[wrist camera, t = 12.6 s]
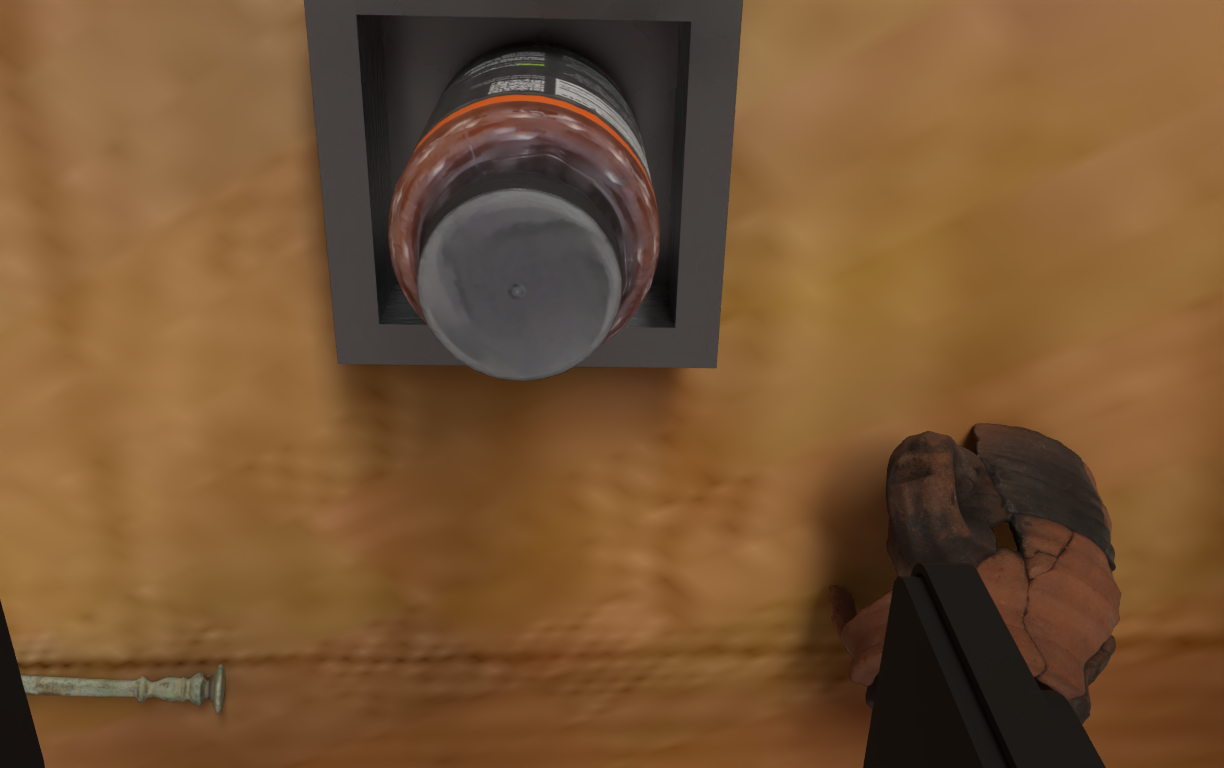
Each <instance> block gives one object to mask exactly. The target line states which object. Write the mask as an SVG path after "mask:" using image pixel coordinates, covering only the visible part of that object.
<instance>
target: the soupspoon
mask: <svg viewBox="0 0 1224 768" xmlns="http://www.w3.org/2000/svg"><path fill="white" fill-rule="evenodd" d="M21 678H22V682H23V686H24V690H25V693H26V695H58V696H93V697H124V696H127V697H136V698H137V701H138V702H145V701H146V699H147V698H151V697H156V698H160V699H162V700H165V701H171V702H174V701H180V702H185V701H187V700H190V701H191V702H192V703H193V704H195V705H201V704H202V703H203V702H204V701H205V700H206V699H208V698H209V699H211V701H212V702H213V705H214V708H215V710H216V712H217V713H221V711H222V706H223V699H224V693H225V670H224V666H223V665H219V666H218V668H217V670H216V671H215V673H214V674H213V675H212V676H211V677H210V678H206V677H205V675H204V674H203V673H197V674H195V675H193V676H192V677H191V678H187V677H186V676H184V677H183V678H177V677H167V678H163V679H161V680H159V681H155V682H151V681H148V680H147V679H146V677H140V678H139V679H138V680H114V679H93V678H70V677H51V676H33V675H21Z"/></svg>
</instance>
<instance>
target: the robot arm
mask: <svg viewBox="0 0 1224 768" xmlns="http://www.w3.org/2000/svg"><path fill="white" fill-rule="evenodd" d="M0 768H45V765H44V760H43V756H42V752H41V749H40V745H39V741H38V738H37V734H36V730H35V726H34V723H33V719H32V715H31V712H30V708H29V704H28V701H27V697H26V693H25V690H24V686H23V682H22V678H21V675H20V671H19V667H18V664H17V660H16V656H15V653H14V649H13V645H12V642H11V638H10V634H9V631H8V627H7V623H6V619H5V616H4V612H3V608H2V605H1V601H0ZM863 768H1106V767H1105V766H1104V764H1103V762H1102V760H1101V758H1100V757H1099V755H1098V753H1097V751H1096V749H1095V748H1094V746H1093V744H1092V742H1091V740H1090V739H1089V737H1088V735H1087V733H1086V731H1085V730H1084V728H1083V726H1082V724H1081V722H1080V721H1079V719H1078V717H1077V715H1076V713H1075V712H1074V710H1073V708H1072V706H1071V705H1070V704H1069V702H1068V701H1067V700H1066V698H1065V697H1064V695H1062V694H1060V693H1059V692H1057V691H1055V690H1040V688H1039V686H1038V684H1037V682H1036V680H1035V679H1034V677H1033V675H1032V673H1031V671H1030V669H1029V667H1028V665H1027V663H1026V662H1025V660H1024V658H1023V656H1022V654H1021V652H1020V650H1019V648H1018V646H1017V645H1016V643H1015V641H1014V639H1013V637H1012V635H1011V633H1010V631H1009V629H1008V628H1007V626H1006V624H1005V622H1004V620H1003V618H1002V616H1001V614H1000V613H999V611H998V609H997V607H996V605H995V603H994V601H993V599H992V597H991V596H990V594H989V592H988V590H987V588H986V586H985V584H984V582H983V580H982V579H981V577H980V575H979V573H978V571H977V570H976V568H975V567H974V566H973V565H972V564H970V563H917V564H916V565H915V566H914V568H913V570H912V572H911V576H910V577H909V576H899V577H897V578H896V580H895V582H894V586H893V591H892V597H891V603H890V609H889V615H888V621H887V627H886V633H885V639H884V645H883V651H882V657H881V663H880V669H879V675H878V681H877V687H876V693H875V699H874V705H873V711H872V717H871V723H870V729H869V735H868V741H867V747H866V753H865V759H864V767H863Z"/></svg>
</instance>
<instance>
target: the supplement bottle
mask: <svg viewBox="0 0 1224 768" xmlns="http://www.w3.org/2000/svg"><path fill="white" fill-rule="evenodd" d="M388 240H389V249H390V256H391V262H392V265H393V269H394V272H395V274H396V277H397V280H398V282H399V284H400V287H401V289H402V291H403V294H404V296H405V297H406V298H407V300H408V302H409V304H410V305H411V306H412V307H413V309H414V311H415V312H416V313H417V314H418V315H419V317H420V318H421V319H422V320H423V321H424V322H425V323H426V324H427V325H428V327H429V328H430V330H431V332H432V333H433V335H434V336H435V338H436V339H437V340H438V342H439V343H440V344H441V345H442V346H443V347H444V348H445V350H446V351H448V352H449V353H450V354H451V355H452V356H453V357H454V358H456V359H457V360H459V361H460V362H462V363H463V364H465V365H466V366H468V367H470V368H472V369H473V370H475V371H479V372H481V373H483V374H486V375H488V376H491V377H494V378H499V379H505V380H518V381H528V380H538V379H543V378H548V377H551V376H554V375H557V374H561V373H563V372H565V371H567V370H569V369H571V368H573V367H575V366H576V365H578V364H579V363H581V362H582V361H584V360H585V359H586V358H587V357H589V356H590V355H591V354H592V353H594V352H595V351H596V350H597V349H598V347H599V346H600V345H602V344H603V343H605V342H606V341H608V340H609V339H611V338H612V337H613V336H614V335H616V334H617V333H618V332H619V331H620V330H621V329H622V328H623V327H625V326H626V325H627V323H628V322H629V321H630V319H631V318H632V317H633V316H634V315H635V314H636V312H637V311H638V309H639V307H640V306H641V304H642V303H643V302H644V300H645V297H646V295H647V293H648V291H649V289H650V286H651V284H652V281H653V277H654V273H655V270H656V267H657V261H658V257H659V245H660V224H659V216H658V210H657V205H656V199H655V194H654V190H653V186H652V182H651V178H650V173H649V169H648V165H647V161H646V157H645V152H644V148H643V143H642V139H641V135H640V132H639V127H638V123H637V120H636V117H635V114H634V111H633V109H632V107H631V105H630V103H629V101H628V99H627V97H626V95H625V94H624V92H623V91H622V90H621V88H620V87H619V86H618V84H617V83H616V81H615V80H614V79H613V78H612V77H611V76H610V75H609V73H608V72H607V71H605V70H604V69H603V68H602V67H601V66H599V65H598V64H597V63H595V62H594V61H592V60H591V59H589V58H588V57H586V56H584V55H582V54H581V53H579V52H576V51H574V50H572V49H569V48H567V47H565V46H560V45H554V44H549V43H542V42H528V43H527V42H521V43H514V44H509V45H506V46H503V47H500V48H496V49H493V50H490V51H489V52H487V53H485V54H482V55H481V56H479V57H477V58H475V59H474V60H472V61H471V62H470V63H469V64H467V65H466V66H465V67H464V68H463V69H462V70H461V71H460V72H459V73H458V74H457V75H456V76H455V77H454V78H453V79H452V80H451V81H450V83H449V84H448V85H447V87H446V89H445V90H444V92H443V94H442V95H441V97H440V99H439V101H438V103H437V105H436V107H435V109H434V111H433V113H432V114H431V116H430V118H429V120H428V123H427V124H426V126H425V128H424V130H423V132H422V134H421V136H420V138H419V140H418V143H417V144H416V146H415V148H414V150H413V153H412V154H411V156H410V159H409V161H408V163H407V164H406V166H405V169H404V171H403V173H402V174H401V177H400V179H399V181H398V183H397V186H396V189H395V192H394V195H393V198H392V202H391V207H390V213H389V224H388Z"/></svg>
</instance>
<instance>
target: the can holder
mask: <svg viewBox="0 0 1224 768" xmlns="http://www.w3.org/2000/svg"><path fill="white" fill-rule="evenodd" d="M304 6H305V17H306V27H307V38H308V49H309V59H310V70H311V81H312V91H313V102H314V113H315V123H316V134H317V145H318V155H319V166H320V177H321V187H322V198H323V209H324V220H325V230H326V241H327V252H328V262H329V273H330V284H331V294H332V305H333V316H334V326H335V337H336V348H337V358H338V364H378V365H465V364H463V363H462V362H460V361H459V360H457V359H456V358H454V357H453V356H452V355H451V354H450V353H449V352H448V351H446V350H445V348H444V347H443V346H442V345H441V344H440V343H439V342H438V340H437V339H436V338H435V336H434V335H433V333H432V332H431V330H430V328H429V327H428V325H427V324H426V323H425V322H424V321H423V320H422V319H421V318H420V317H419V315H418V314H417V313H416V312H415V311H414V309H413V307H412V306H411V305H410V304H409V302H408V300H407V298H406V297H405V296H404V294H403V291H402V289H401V287H400V284H399V282H398V280H397V277H396V274H395V272H394V269H393V265H392V262H391V256H390V249H389V240H388V224H389V213H390V207H391V202H392V198H393V195H394V192H395V189H396V186H397V183H398V181H399V179H400V177H401V174H402V173H403V171H404V169H405V166H406V164H407V163H408V161H409V159H410V156H411V154H412V153H413V150H414V148H415V146H416V144H417V143H418V140H419V138H420V136H421V134H422V132H423V130H424V128H425V126H426V124H427V123H428V120H429V118H430V116H431V114H432V113H433V111H434V109H435V107H436V105H437V103H438V101H439V99H440V97H441V95H442V94H443V92H444V90H445V89H446V87H447V85H448V84H449V83H450V81H451V80H452V79H453V78H454V77H455V76H456V75H457V74H458V73H459V72H460V71H461V70H462V69H463V68H464V67H465V66H466V65H467V64H469V63H470V62H471V61H472V60H474V59H475V58H477V57H479V56H481V55H482V54H485V53H487V52H489V51H490V50H493V49H496V48H500V47H503V46H506V45H509V44H514V43H521V42H527V43H528V42H542V43H549V44H554V45H560V46H565V47H567V48H569V49H572V50H574V51H576V52H579V53H581V54H582V55H584V56H586V57H588V58H589V59H591V60H592V61H594V62H595V63H597V64H598V65H599V66H601V67H602V68H603V69H604V70H605V71H607V72H608V73H609V75H610V76H611V77H612V78H613V79H614V80H615V81H616V83H617V84H618V86H619V87H620V88H621V90H622V91H623V92H624V94H625V95H626V97H627V99H628V101H629V103H630V105H631V107H632V109H633V111H634V114H635V117H636V120H637V123H638V127H639V132H640V135H641V139H642V143H643V148H644V152H645V157H646V161H647V165H648V169H649V173H650V178H651V182H652V186H653V190H654V194H655V199H656V205H657V210H658V216H659V224H660V245H659V257H658V261H657V267H656V270H655V273H654V277H653V281H652V284H651V286H650V289H649V291H648V293H647V295H646V297H645V300H644V302H643V303H642V304H641V306H640V307H639V309H638V311H637V312H636V314H635V315H634V316H633V317H632V318H631V319H630V321H629V322H628V323H627V325H626V326H625V327H623V328H622V329H621V330H620V331H619V332H618V333H617V334H616V335H614V336H613V337H612V338H611V339H609V340H608V341H606V342H605V343H603V344H602V345H600V346H599V347H598V349H597V350H596V351H595V352H594V353H592V354H591V355H590V356H589V357H587V358H586V359H585V360H584V361H582V362H581V363H579V364H578V365H576V366H575V367H652V368H716V367H717V353H718V339H719V326H720V312H721V298H722V284H723V270H724V256H725V242H726V228H727V215H728V201H729V187H730V173H731V159H732V145H733V131H734V117H735V104H736V90H737V76H738V62H739V48H740V34H741V20H742V6H743V0H304Z"/></svg>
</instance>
